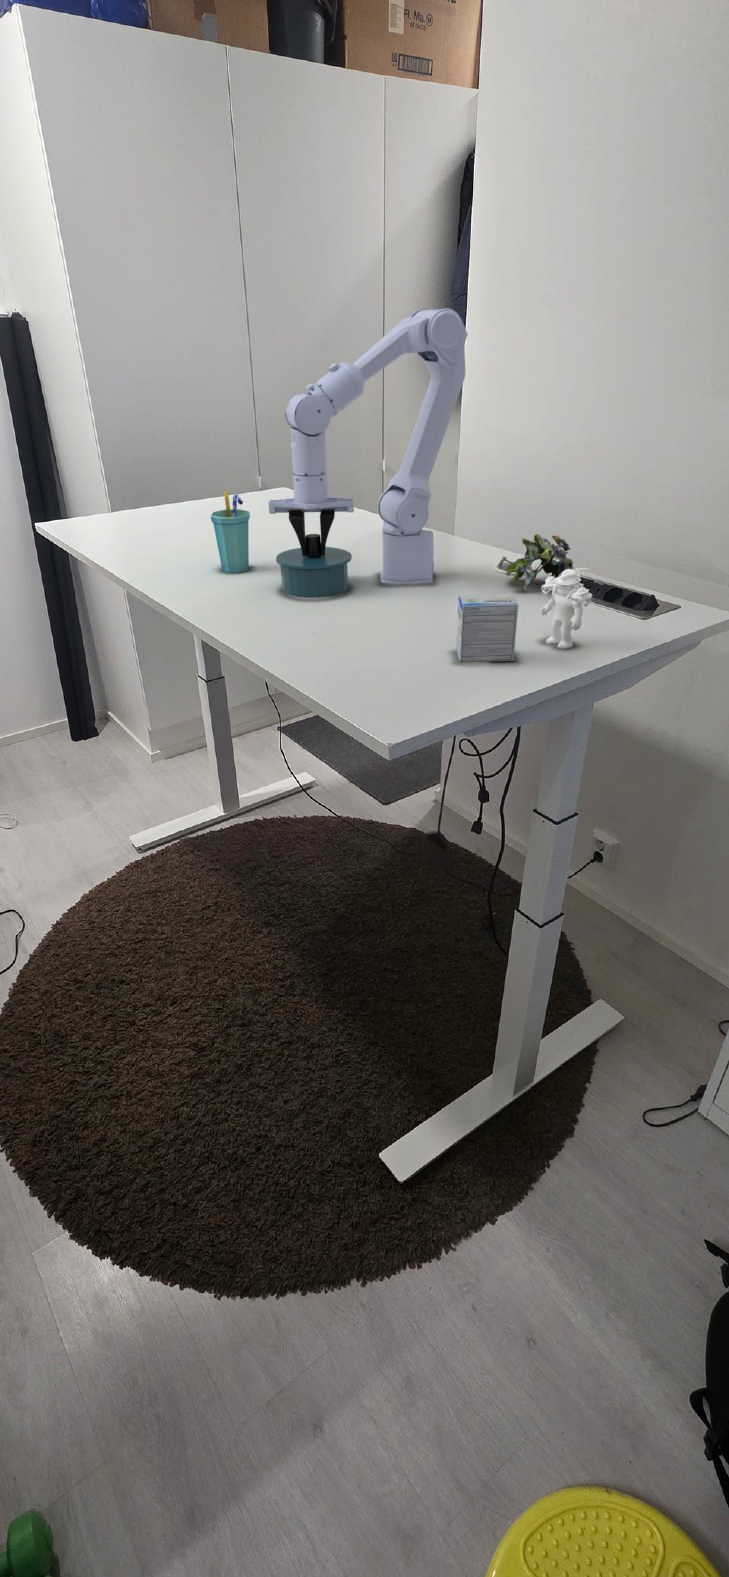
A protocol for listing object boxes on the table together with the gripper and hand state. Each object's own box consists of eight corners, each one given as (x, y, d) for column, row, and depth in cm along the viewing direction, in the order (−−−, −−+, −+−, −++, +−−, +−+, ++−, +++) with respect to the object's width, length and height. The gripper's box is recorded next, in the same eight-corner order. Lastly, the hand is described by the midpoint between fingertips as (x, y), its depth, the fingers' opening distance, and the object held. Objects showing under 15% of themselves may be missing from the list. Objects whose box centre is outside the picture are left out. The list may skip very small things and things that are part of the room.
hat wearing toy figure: (590, 650, 119) (601, 569, 113) (570, 655, 118) (580, 573, 112) (549, 632, 126) (557, 554, 120) (529, 637, 125) (537, 558, 118)
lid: (351, 552, 150) (351, 526, 148) (351, 572, 139) (351, 544, 136) (279, 553, 150) (277, 527, 148) (273, 573, 139) (271, 545, 136)
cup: (267, 576, 155) (261, 494, 147) (228, 582, 152) (219, 499, 144) (245, 559, 166) (238, 482, 158) (208, 564, 163) (199, 486, 155)
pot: (348, 580, 152) (347, 551, 149) (347, 600, 142) (346, 569, 139) (285, 581, 152) (283, 552, 149) (280, 601, 142) (278, 570, 139)
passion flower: (552, 614, 150) (595, 567, 141) (512, 615, 143) (555, 567, 135) (522, 568, 154) (562, 520, 145) (482, 567, 147) (522, 517, 139)
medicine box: (508, 651, 120) (513, 593, 115) (514, 662, 116) (519, 603, 111) (455, 652, 120) (457, 594, 115) (459, 664, 116) (462, 604, 111)
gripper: (264, 478, 133) (270, 561, 140) (352, 476, 133) (354, 559, 140) (268, 471, 139) (274, 550, 146) (352, 469, 139) (354, 549, 146)
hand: (313, 554), depth 144 cm, fingers closed on lid, 2 cm apart
